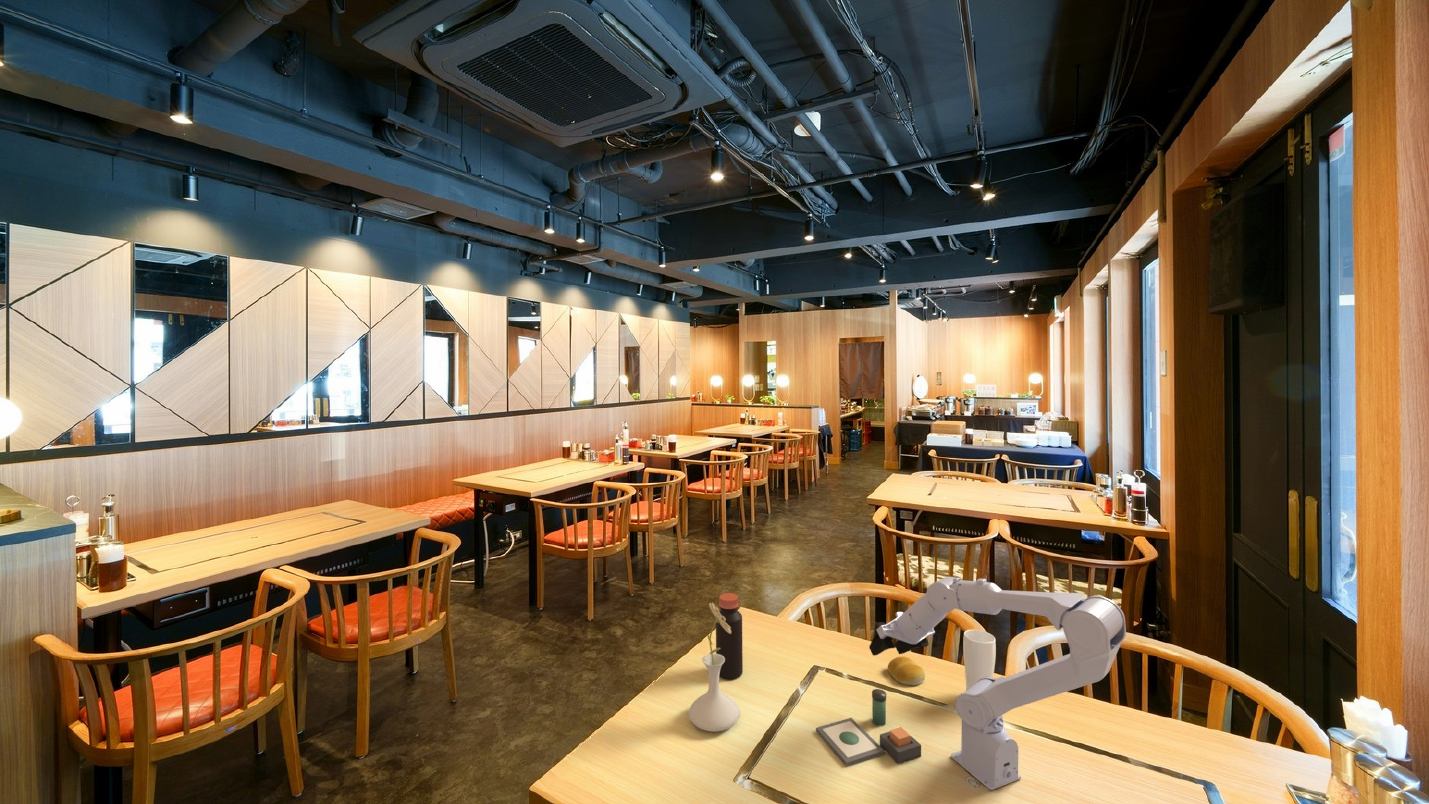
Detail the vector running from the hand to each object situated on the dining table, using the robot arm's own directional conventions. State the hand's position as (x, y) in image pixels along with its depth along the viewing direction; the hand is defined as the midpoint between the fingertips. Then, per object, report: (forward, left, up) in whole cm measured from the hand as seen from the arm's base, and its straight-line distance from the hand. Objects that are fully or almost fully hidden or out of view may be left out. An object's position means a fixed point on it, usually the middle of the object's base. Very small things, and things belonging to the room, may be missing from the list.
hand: (885, 650), depth 118 cm
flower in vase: (+12, +37, -14) cm, 41 cm away
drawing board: (-6, +14, -14) cm, 20 cm away
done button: (-12, +6, -12) cm, 18 cm away
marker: (-3, +4, -14) cm, 15 cm away
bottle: (+27, +27, -14) cm, 41 cm away
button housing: (-12, +6, -14) cm, 19 cm away
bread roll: (+9, -14, -14) cm, 22 cm away
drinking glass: (-5, -23, -14) cm, 28 cm away
